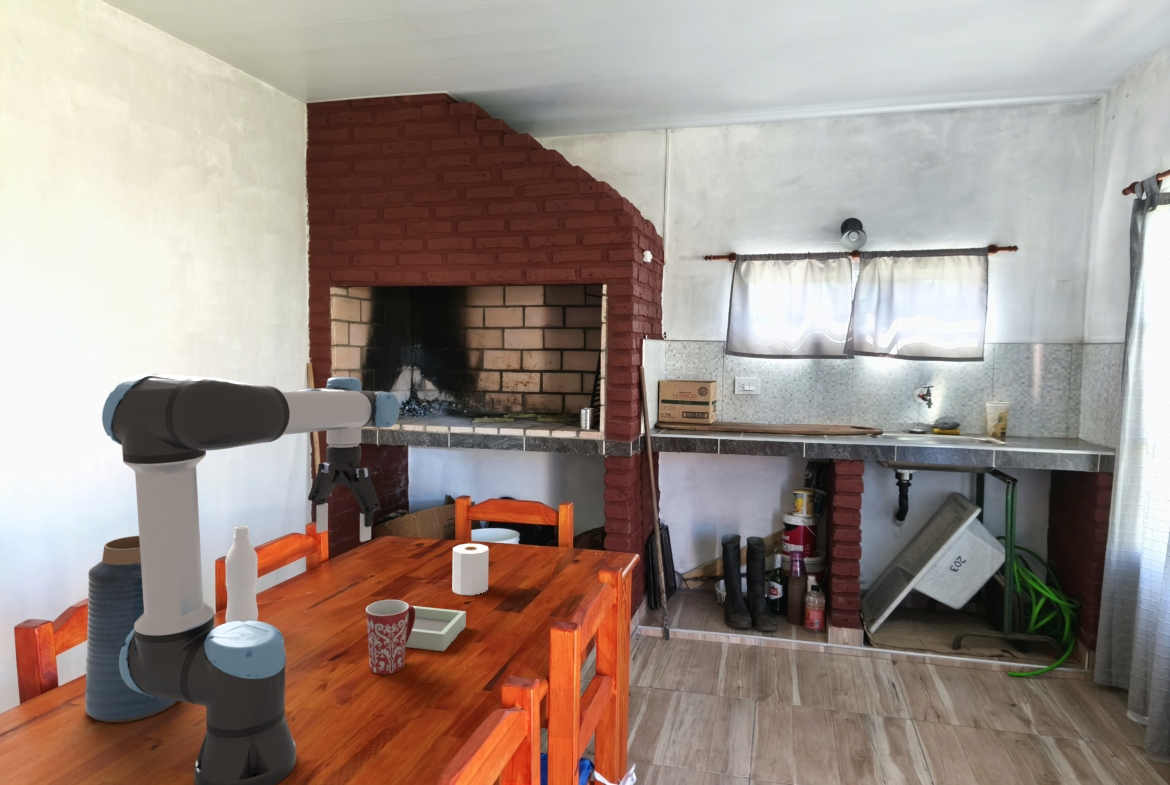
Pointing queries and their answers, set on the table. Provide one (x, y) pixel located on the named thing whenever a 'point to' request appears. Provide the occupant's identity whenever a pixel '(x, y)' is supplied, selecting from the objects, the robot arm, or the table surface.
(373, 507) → the robot arm
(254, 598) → the water bottle
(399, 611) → the mug
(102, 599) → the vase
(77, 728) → the table surface
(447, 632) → the tray
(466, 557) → the toilet paper
